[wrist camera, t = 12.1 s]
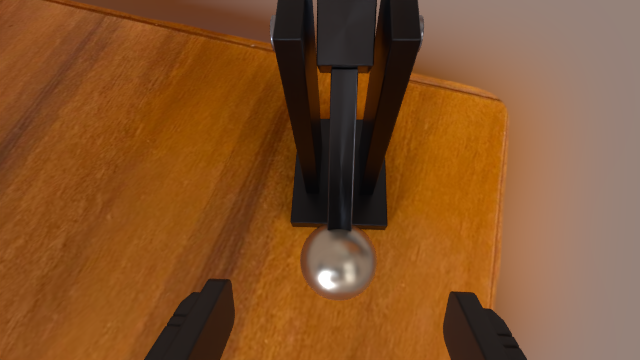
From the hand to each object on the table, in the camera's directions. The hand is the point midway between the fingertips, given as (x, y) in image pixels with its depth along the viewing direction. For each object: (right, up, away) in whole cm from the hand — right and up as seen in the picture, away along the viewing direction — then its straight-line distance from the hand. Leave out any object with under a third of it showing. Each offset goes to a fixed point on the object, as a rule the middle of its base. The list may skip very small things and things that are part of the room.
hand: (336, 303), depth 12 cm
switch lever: (0, +6, +4) cm, 7 cm away
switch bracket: (+1, +5, +14) cm, 15 cm away
